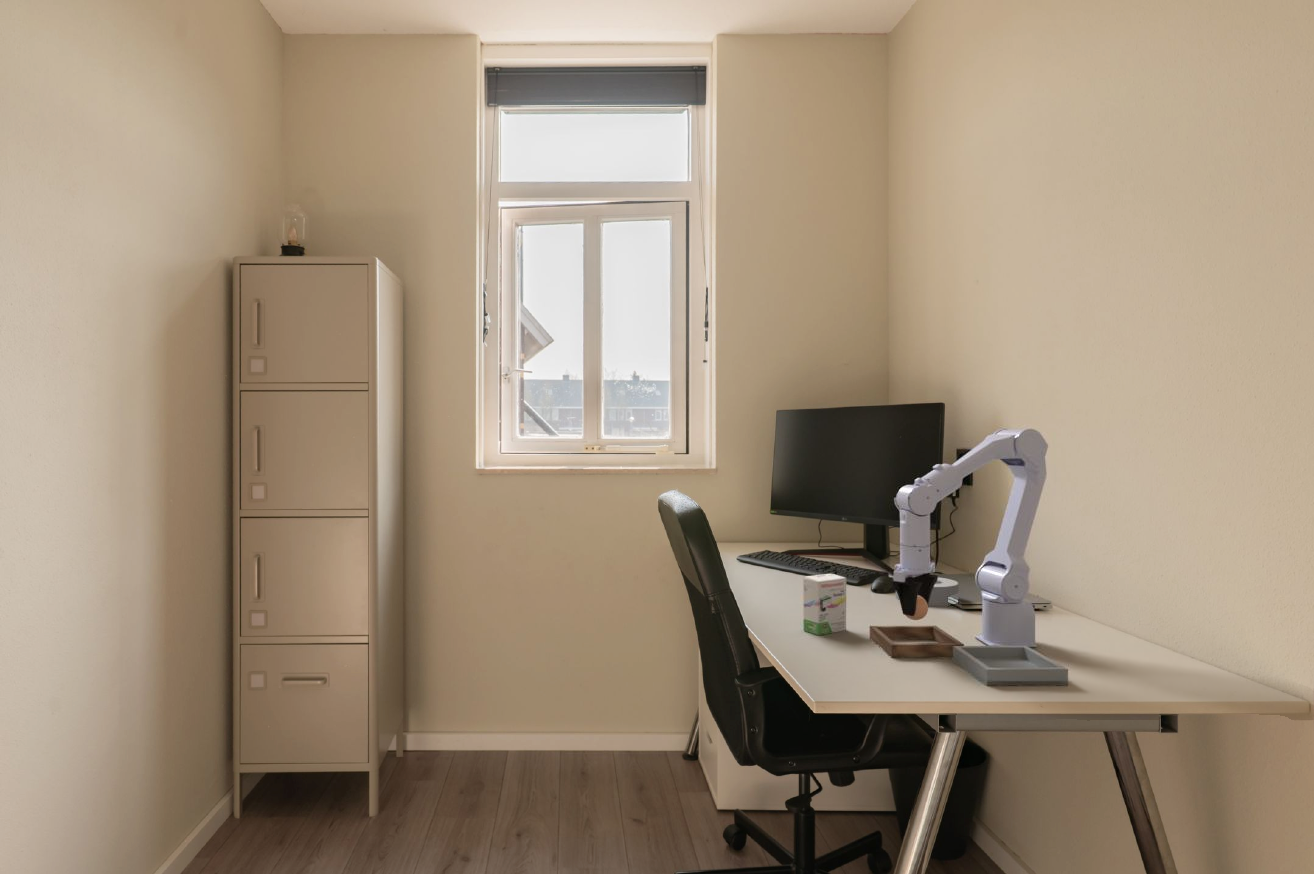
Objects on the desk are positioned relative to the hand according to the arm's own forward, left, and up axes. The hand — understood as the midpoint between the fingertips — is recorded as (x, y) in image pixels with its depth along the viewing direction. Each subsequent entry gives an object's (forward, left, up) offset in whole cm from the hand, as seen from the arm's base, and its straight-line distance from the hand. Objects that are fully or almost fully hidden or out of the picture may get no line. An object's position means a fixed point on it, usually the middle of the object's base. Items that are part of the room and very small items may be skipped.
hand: (914, 612), depth 151 cm
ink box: (+15, -13, -7) cm, 21 cm away
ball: (0, 0, +1) cm, 1 cm away
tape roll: (-19, -43, -8) cm, 47 cm away
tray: (-11, +16, -7) cm, 21 cm away
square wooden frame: (0, 0, -7) cm, 7 cm away
